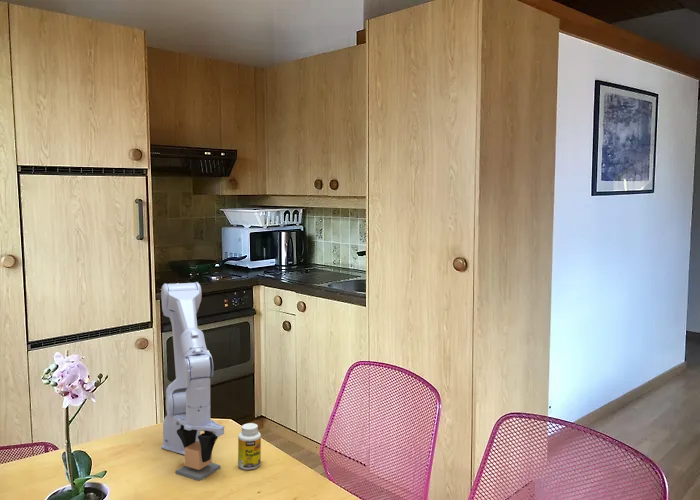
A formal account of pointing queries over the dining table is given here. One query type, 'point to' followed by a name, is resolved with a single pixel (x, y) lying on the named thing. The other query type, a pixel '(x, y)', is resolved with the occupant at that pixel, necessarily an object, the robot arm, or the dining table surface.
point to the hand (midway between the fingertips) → (198, 458)
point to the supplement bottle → (249, 447)
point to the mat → (198, 471)
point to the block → (195, 456)
